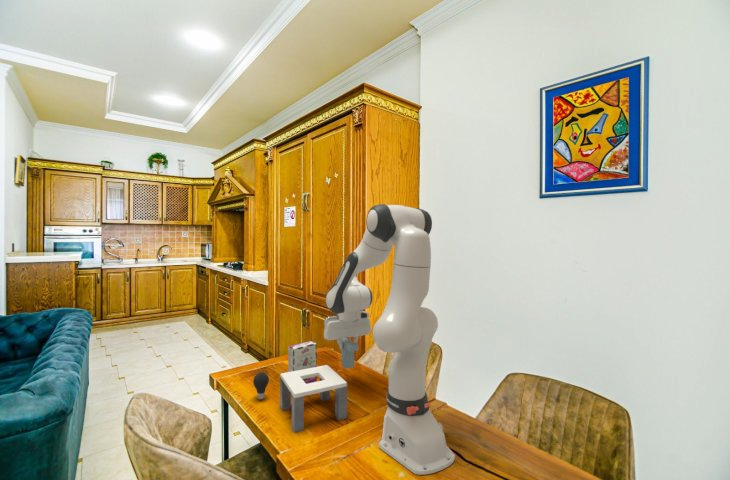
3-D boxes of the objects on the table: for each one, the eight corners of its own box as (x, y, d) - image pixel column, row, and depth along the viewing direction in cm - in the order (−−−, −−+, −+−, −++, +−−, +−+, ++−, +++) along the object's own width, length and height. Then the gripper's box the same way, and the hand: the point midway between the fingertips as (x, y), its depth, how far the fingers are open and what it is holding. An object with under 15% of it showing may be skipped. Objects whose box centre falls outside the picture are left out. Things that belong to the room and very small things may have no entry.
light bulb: (264, 403, 120) (264, 376, 120) (250, 402, 121) (250, 375, 121) (271, 396, 126) (271, 370, 126) (258, 395, 127) (258, 369, 127)
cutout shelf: (346, 418, 110) (346, 382, 110) (294, 432, 102) (294, 394, 102) (326, 396, 126) (327, 364, 126) (280, 406, 118) (280, 373, 118)
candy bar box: (310, 378, 143) (311, 340, 143) (317, 381, 139) (317, 343, 139) (287, 385, 135) (287, 345, 135) (293, 389, 132) (293, 348, 132)
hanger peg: (358, 370, 131) (358, 345, 131) (349, 372, 129) (349, 346, 130) (346, 361, 142) (346, 337, 142) (337, 362, 140) (337, 339, 140)
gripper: (327, 318, 128) (327, 354, 128) (372, 313, 138) (372, 346, 138) (321, 315, 134) (321, 349, 134) (365, 310, 143) (365, 342, 143)
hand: (347, 347), depth 136 cm, fingers closed on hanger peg, 4 cm apart
